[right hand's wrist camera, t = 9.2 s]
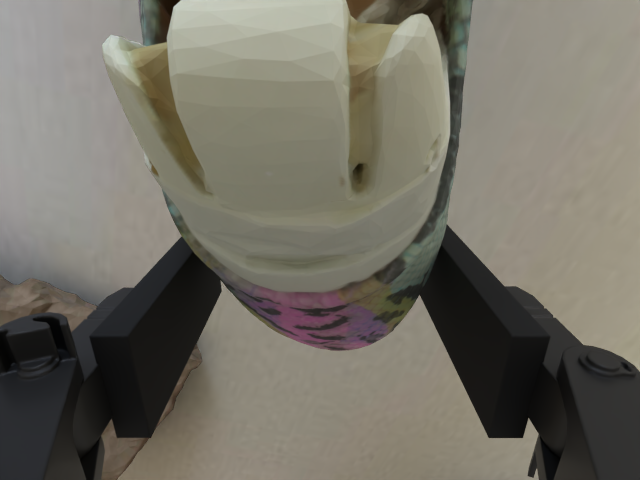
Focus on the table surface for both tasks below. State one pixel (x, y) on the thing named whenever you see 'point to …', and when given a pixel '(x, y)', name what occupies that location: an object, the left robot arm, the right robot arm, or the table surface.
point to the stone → (40, 297)
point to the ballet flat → (303, 148)
